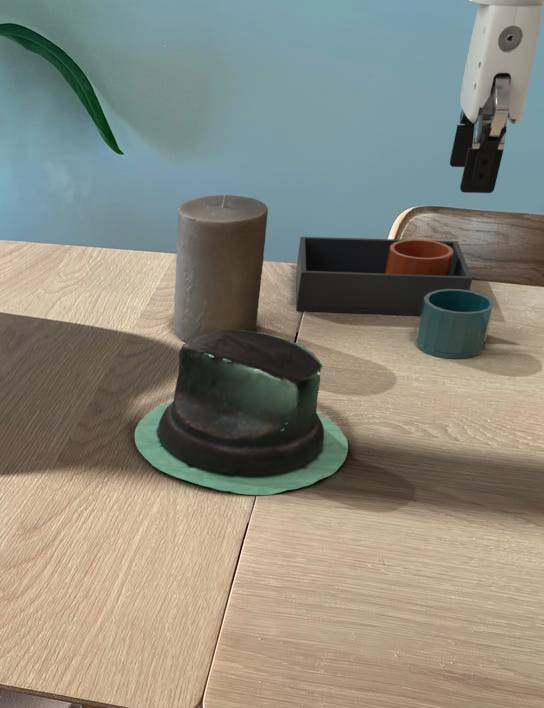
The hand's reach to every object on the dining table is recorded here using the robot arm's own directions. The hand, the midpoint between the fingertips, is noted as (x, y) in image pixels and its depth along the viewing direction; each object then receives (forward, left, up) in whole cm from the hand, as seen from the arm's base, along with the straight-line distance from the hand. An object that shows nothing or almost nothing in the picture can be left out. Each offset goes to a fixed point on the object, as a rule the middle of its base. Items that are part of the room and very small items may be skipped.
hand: (470, 178), depth 102 cm
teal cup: (-1, +5, -16) cm, 17 cm away
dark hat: (+21, +30, -16) cm, 40 cm away
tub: (+6, -10, -16) cm, 20 cm away
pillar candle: (+25, +4, -16) cm, 30 cm away
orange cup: (+2, -10, -16) cm, 19 cm away
